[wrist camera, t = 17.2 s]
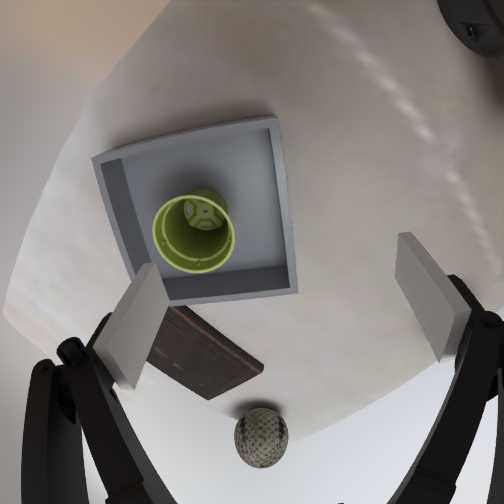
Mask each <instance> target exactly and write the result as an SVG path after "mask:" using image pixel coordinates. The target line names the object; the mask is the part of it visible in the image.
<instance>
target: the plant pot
mask: <svg viewBox="0 0 504 504" xmlns="http://www.w3.org/2000/svg"><path fill="white" fill-rule="evenodd" d="M188 205H189V206H190V215H189V214H188V213H187V206H188ZM204 209H207V212H204V211H203V210H204ZM221 213H222V214H223V215H222V214H221ZM202 225H212V226H211V227H203V226H202ZM152 233H153V239H154V243H155V246H156V248H157V250H158V251H159V253H160V254H161V256H162V257H163V258H164V259H165V260H166V261H167V262H168V263H169V264H171V265H172V266H174V267H175V268H177V269H180V270H182V271H185V272H189V273H205V272H209V271H212V270H214V269H216V268H218V267H220V266H221V265H222V264H223V263H224V262H226V260H227V259H228V258H229V257H230V255H231V253H232V251H233V248H234V243H235V231H234V227H233V224H232V222H231V219H230V218H229V216H228V206H227V203H226V201H225V199H224V198H223V197H222V196H221V195H220V194H219V193H218V192H216V191H215V190H212V189H208V188H201V189H197V190H195V191H193V192H191V193H190V194H188V195H183V196H179V197H176V198H173V199H171V200H169V201H168V202H167V203H165V204H164V205H163V206H162V207H161V208H160V209H159V210H158V212H157V214H156V216H155V218H154V221H153V226H152Z"/></svg>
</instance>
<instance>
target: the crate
mask: <svg viewBox="0 0 504 504" xmlns="http://www.w3.org/2000/svg"><path fill="white" fill-rule="evenodd" d="M91 159H92V162H93V166H94V170H95V174H96V177H97V181H98V184H99V188H100V191H101V195H102V198H103V201H104V205H105V208H106V211H107V214H108V217H109V221H110V224H111V227H112V230H113V233H114V236H115V238H116V241H117V244H118V247H119V250H120V253H121V255H122V258H123V261H124V264H125V266H126V269H127V272H128V274H129V277H130V279H131V282H132V281H133V279H134V278H135V276H136V275H137V273H138V272H139V270H140V268H141V267H142V265H143V264H145V263H153V262H156V265H157V268H158V270H159V273H160V276H161V279H162V282H163V284H164V287H165V290H166V292H167V295H168V298H169V300H170V303H169V306H182V305H193V304H204V303H215V302H225V301H235V300H244V299H254V298H263V297H271V296H280V295H288V294H296V293H298V283H297V273H296V262H295V253H294V243H293V234H292V225H291V216H290V207H289V199H288V191H287V183H286V175H285V167H284V159H283V152H282V145H281V138H280V131H279V124H278V118H277V117H276V116H275V115H268V116H261V117H254V118H247V119H241V120H234V121H229V122H223V123H217V124H212V125H207V126H202V127H197V128H192V129H187V130H182V131H178V132H174V133H169V134H165V135H161V136H157V137H153V138H149V139H145V140H141V141H137V142H134V143H130V144H127V145H123V146H120V147H116V148H113V149H111V150H109V151H106V152H104V153H102V154H99V155H97V156H95V157H93V158H91ZM201 188H208V189H212V190H215V191H216V192H218V193H219V194H220V195H221V196H222V197H223V198H224V199H225V201H226V203H227V206H228V216H229V218H230V219H231V222H232V224H233V227H234V231H235V243H234V248H233V251H232V253H231V255H230V257H229V258H228V259H227V260H226V262H224V263H223V264H222V265H221V266H220V267H218V268H216V269H214V270H212V271H209V272H205V273H189V272H185V271H182V270H180V269H177V268H175V267H174V266H172V265H171V264H169V263H168V262H167V261H166V260H165V259H164V258H163V257H162V256H161V254H160V253H159V251H158V250H157V248H156V246H155V243H154V239H153V233H152V226H153V221H154V218H155V216H156V214H157V212H158V210H159V209H160V208H161V207H162V206H163V205H164V204H165V203H167V202H168V201H169V200H171V199H173V198H176V197H179V196H183V195H188V194H190V193H191V192H193V191H195V190H197V189H201ZM203 211H204V212H207V209H204V210H203ZM187 213H188V214H189V215H190V206H189V205H188V206H187ZM221 214H222V213H221ZM222 215H223V214H222ZM202 226H203V227H211V226H212V225H202ZM169 306H168V307H169Z"/></svg>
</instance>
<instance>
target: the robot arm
mask: <svg viewBox="0 0 504 504" xmlns="http://www.w3.org/2000/svg"><path fill="white" fill-rule="evenodd" d="M438 3H439V6H440V9H441V12H442V14H443V16H444V18H445V20H446V22H447V24H448V25H449V27H450V28H451V30H452V31H453V32H454V34H455V35H456V36H457V37H458V38H459V40H460V41H461V42H462V43H464V44H465V45H466V46H467V47H468V48H470V49H471V50H473V51H474V52H476V53H478V54H481V55H484V56H501V55H504V0H438ZM395 278H396V280H397V282H398V284H399V285H400V287H401V289H402V291H403V293H404V294H405V296H406V298H407V300H408V302H409V304H410V306H411V307H412V309H413V311H414V313H415V315H416V317H417V319H418V321H419V323H420V325H421V327H422V329H423V331H424V333H425V335H426V337H427V339H428V341H429V343H430V345H431V347H432V349H433V351H434V354H435V356H436V358H437V360H438V362H439V363H443V362H447V361H451V360H454V358H455V356H456V353H457V351H459V353H460V355H461V359H460V361H459V364H458V366H457V368H456V371H455V375H454V378H453V380H452V383H451V385H450V388H449V390H448V393H447V395H446V398H445V400H444V402H443V405H442V407H441V409H440V411H439V414H438V416H437V418H436V420H435V422H434V424H433V426H432V428H431V430H430V432H429V434H428V436H427V438H426V440H425V442H424V444H423V446H422V448H421V450H420V452H419V453H418V455H417V457H416V459H415V461H414V463H413V464H412V466H411V467H410V469H409V471H408V473H407V474H406V476H405V477H404V479H403V481H402V482H401V484H400V485H399V487H398V489H397V490H396V492H395V493H394V494H393V496H392V497H391V499H390V500H389V501H388V503H387V504H449V503H450V501H451V499H452V497H453V495H454V493H455V490H456V485H455V483H456V480H457V478H458V476H459V474H460V472H461V469H462V467H463V465H464V463H465V460H466V458H467V455H468V453H469V450H470V448H471V445H472V443H473V440H474V437H475V435H476V432H477V429H478V427H479V424H480V421H481V418H482V415H483V412H484V408H485V405H486V402H487V398H488V395H489V391H490V387H491V384H492V380H493V376H494V371H495V368H498V421H497V422H498V423H497V437H496V448H495V457H494V465H493V472H492V479H491V484H490V490H489V495H488V499H487V504H504V321H502V319H501V317H500V316H498V315H497V314H496V313H494V312H491V311H485V310H484V308H483V307H482V306H481V304H480V303H479V302H478V300H477V299H476V298H475V296H474V295H473V294H472V293H471V291H470V290H469V288H467V286H466V285H465V283H464V282H463V281H462V280H461V279H460V278H458V277H457V276H455V275H454V274H453V275H447V276H446V274H445V273H444V272H443V270H442V269H441V268H440V267H439V265H438V264H437V263H436V262H435V260H434V259H433V258H432V257H431V255H430V254H429V253H428V252H427V250H426V249H425V248H424V247H423V246H422V244H421V243H420V242H419V241H418V240H417V238H416V237H415V236H414V235H413V234H412V233H411V232H404V233H398V243H397V258H396V270H395ZM169 303H170V300H169V298H168V295H167V292H166V290H165V287H164V284H163V282H162V279H161V276H160V273H159V270H158V268H157V265H156V262H153V263H145V264H143V265H142V267H141V268H140V270H139V272H138V273H137V275H136V276H135V278H134V279H133V281H132V282H131V284H130V286H129V287H128V289H127V290H126V292H125V293H124V295H123V297H122V298H121V300H120V301H119V303H118V305H117V306H116V308H115V310H114V311H113V312H109V313H108V314H107V315H106V316H105V317H104V318H103V319H102V320H101V322H100V324H99V325H98V327H97V328H96V330H95V333H93V335H92V337H91V338H90V340H89V342H88V344H87V345H86V347H85V346H84V345H83V343H82V342H81V340H80V339H79V338H77V337H71V338H68V339H66V340H65V341H63V342H62V343H61V344H60V345H59V346H58V348H57V355H58V356H59V358H60V359H61V361H62V362H63V365H58V366H55V364H54V363H53V362H52V360H50V359H44V360H41V361H39V362H38V363H37V364H36V365H35V366H34V368H33V370H32V374H31V380H30V386H29V392H28V398H27V405H26V413H25V422H24V431H23V444H22V463H21V499H22V500H21V501H22V504H89V499H88V493H87V486H86V477H85V468H84V458H83V446H82V430H81V429H83V432H84V435H85V438H86V441H87V444H88V447H89V449H90V452H91V455H92V457H93V460H94V462H95V465H96V468H97V470H98V473H99V475H100V477H101V480H102V482H103V484H104V486H105V489H106V491H107V494H108V498H107V499H106V500H105V503H106V504H177V502H176V501H175V500H174V498H173V497H172V495H171V494H170V492H169V491H168V489H167V488H166V486H165V484H164V483H163V481H162V480H161V478H160V476H159V475H158V473H157V471H156V470H155V468H154V466H153V465H152V463H151V461H150V459H149V458H148V456H147V454H146V452H145V451H144V449H143V447H142V445H141V443H140V442H139V440H138V438H137V436H136V434H135V432H134V430H133V428H132V426H131V424H130V422H129V420H128V418H127V416H126V414H125V412H124V410H123V408H122V406H121V403H120V401H119V399H118V397H117V395H116V392H115V391H114V389H113V388H112V386H113V384H114V382H116V384H117V385H118V386H119V388H120V389H124V390H135V387H136V385H137V382H138V379H139V377H140V374H141V372H142V369H143V367H144V364H145V361H146V359H147V356H148V354H149V351H150V349H151V346H152V344H153V342H154V339H155V337H156V334H157V332H158V329H159V327H160V325H161V322H162V320H163V317H164V315H165V313H166V310H167V308H168V306H169ZM81 426H82V428H81ZM339 504H343V503H339Z"/></svg>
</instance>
